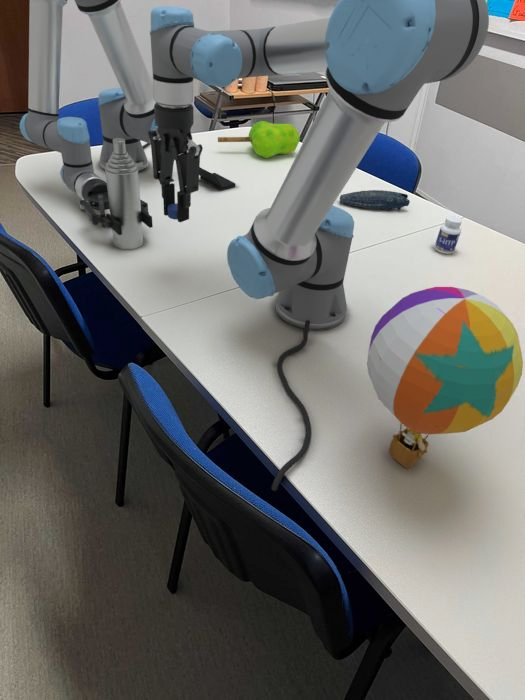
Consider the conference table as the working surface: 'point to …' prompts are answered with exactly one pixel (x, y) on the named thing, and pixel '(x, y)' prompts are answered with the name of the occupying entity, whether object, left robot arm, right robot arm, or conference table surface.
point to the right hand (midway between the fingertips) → (176, 216)
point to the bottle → (124, 196)
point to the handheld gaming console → (215, 179)
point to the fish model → (376, 199)
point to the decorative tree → (269, 139)
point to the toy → (442, 365)
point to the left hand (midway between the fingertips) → (135, 225)
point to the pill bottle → (448, 235)
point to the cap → (173, 211)
